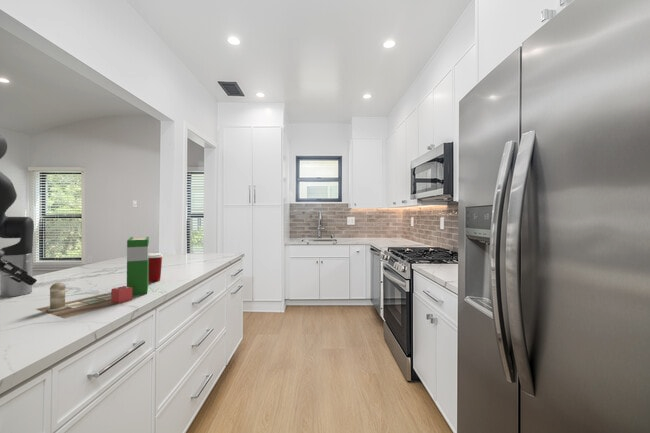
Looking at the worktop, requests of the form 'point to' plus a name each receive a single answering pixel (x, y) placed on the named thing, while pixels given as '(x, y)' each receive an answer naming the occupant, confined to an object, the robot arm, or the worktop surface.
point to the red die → (121, 294)
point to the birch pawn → (57, 298)
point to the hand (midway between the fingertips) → (28, 281)
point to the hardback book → (138, 265)
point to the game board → (83, 305)
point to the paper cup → (155, 267)
